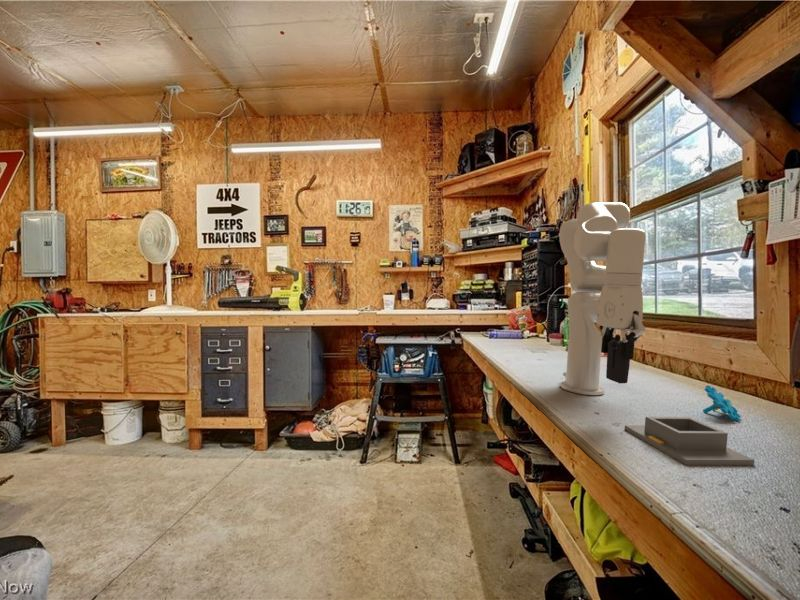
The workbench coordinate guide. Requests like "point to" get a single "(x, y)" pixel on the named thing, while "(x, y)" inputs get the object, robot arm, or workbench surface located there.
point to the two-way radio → (616, 362)
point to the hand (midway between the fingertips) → (616, 354)
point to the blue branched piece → (721, 403)
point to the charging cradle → (689, 441)
